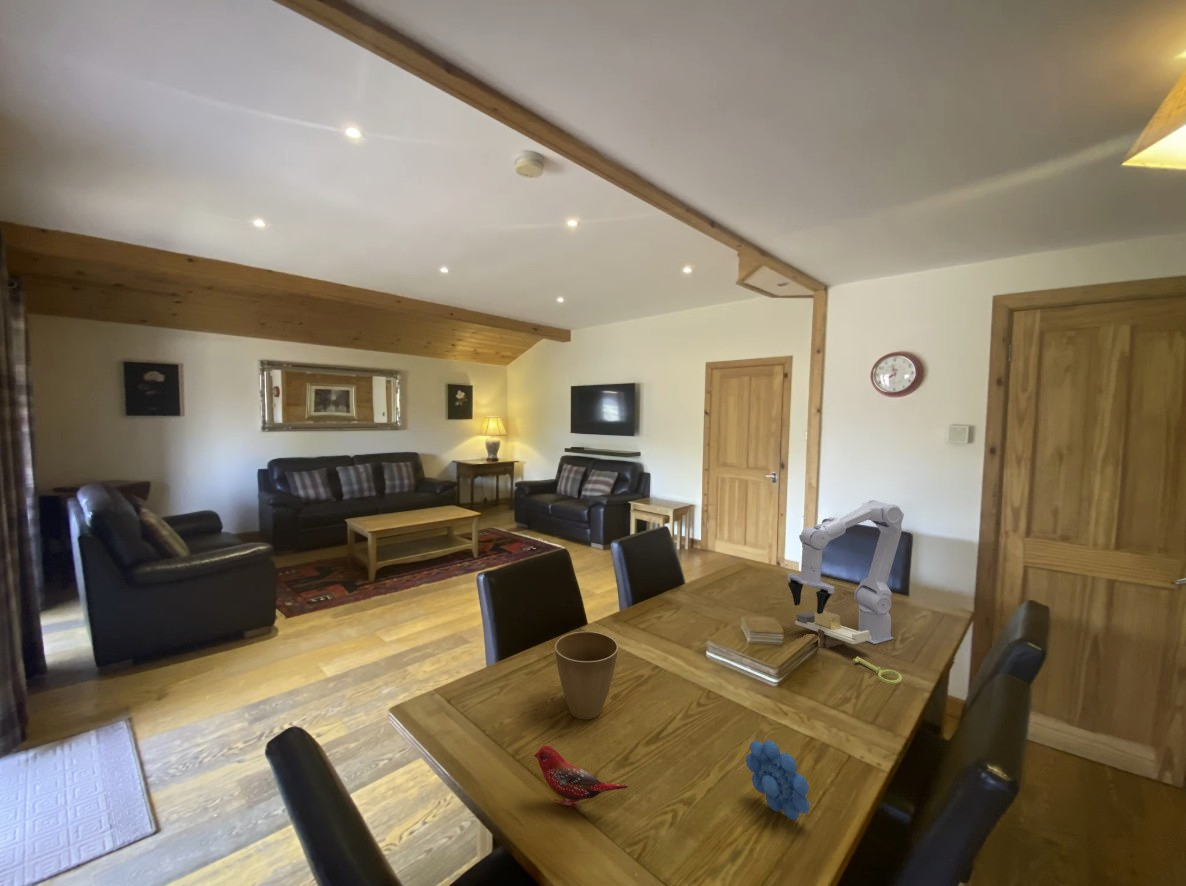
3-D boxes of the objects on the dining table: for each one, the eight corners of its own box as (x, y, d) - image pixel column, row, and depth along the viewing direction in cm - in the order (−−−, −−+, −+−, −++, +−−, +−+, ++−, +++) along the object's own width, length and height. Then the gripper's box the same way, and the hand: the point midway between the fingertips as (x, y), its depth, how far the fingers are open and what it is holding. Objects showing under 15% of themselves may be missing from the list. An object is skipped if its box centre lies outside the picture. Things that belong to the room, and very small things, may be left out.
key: (855, 662, 142) (855, 655, 142) (904, 678, 133) (904, 671, 133) (847, 671, 137) (847, 663, 137) (897, 688, 128) (898, 680, 128)
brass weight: (815, 625, 156) (814, 612, 156) (824, 623, 157) (823, 610, 158) (831, 630, 150) (830, 617, 150) (840, 628, 152) (839, 615, 152)
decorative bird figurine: (536, 791, 91) (536, 738, 90) (629, 814, 85) (630, 759, 85) (529, 802, 88) (530, 749, 87) (625, 827, 83) (626, 770, 82)
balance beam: (795, 624, 160) (794, 614, 160) (812, 620, 164) (812, 611, 164) (853, 644, 141) (852, 633, 141) (871, 639, 145) (871, 629, 145)
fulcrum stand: (815, 644, 152) (815, 628, 152) (838, 638, 156) (838, 623, 156) (823, 648, 149) (824, 632, 149) (846, 642, 154) (847, 626, 153)
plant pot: (545, 700, 120) (546, 637, 119) (601, 688, 125) (602, 627, 125) (566, 737, 106) (567, 665, 105) (627, 721, 112) (629, 653, 111)
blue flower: (733, 804, 88) (735, 740, 87) (751, 785, 93) (753, 724, 92) (797, 845, 80) (800, 774, 79) (814, 822, 84) (816, 755, 84)
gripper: (783, 561, 156) (780, 603, 157) (827, 574, 145) (823, 619, 145) (795, 559, 161) (792, 599, 161) (839, 571, 149) (835, 615, 149)
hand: (808, 608), depth 153 cm, fingers open, 7 cm apart
